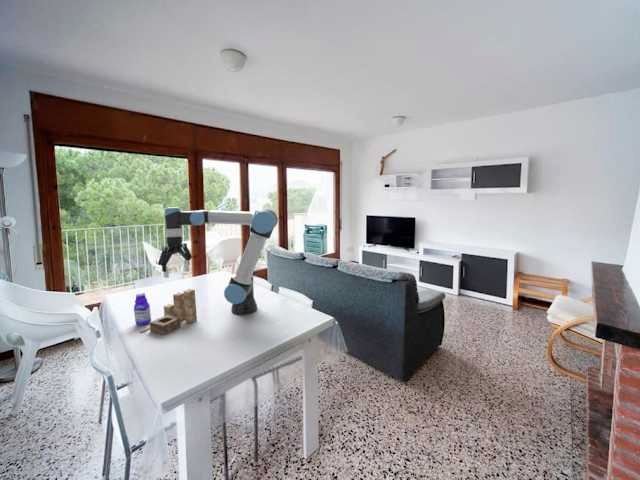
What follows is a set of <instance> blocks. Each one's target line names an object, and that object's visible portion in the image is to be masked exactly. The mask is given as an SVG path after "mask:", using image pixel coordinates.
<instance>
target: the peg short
mask: <svg viewBox="0 0 640 480" xmlns="http://www.w3.org/2000/svg"><path fill="white" fill-rule="evenodd" d="M163 313H164V315H163V316H166V315H169V316H173V317H175V313H174V303H173V304H171V303H168V304H166V305H164V306H163Z"/></svg>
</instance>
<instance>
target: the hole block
mask: <svg viewBox="0 0 640 480" xmlns="http://www.w3.org/2000/svg"><path fill="white" fill-rule="evenodd" d="M149 327H150V332H151V333H153V334H154V333H155V334H158V335H163V336H165V335H168V334H170V333H172V332H174V331H176V330H177V329H179V328H182V321H181V320H180V318H178V317H173V316H169V315H166V316H164V315H163V316H161V317H159V318H157V319H154V320H151V321H150V323H149Z"/></svg>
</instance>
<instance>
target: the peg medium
mask: <svg viewBox="0 0 640 480" xmlns="http://www.w3.org/2000/svg"><path fill="white" fill-rule="evenodd" d="M172 297H173V298H172V299H173V300H172V301H173V305H174V313H175V317H178V318H180V320H181V322H182V321H185V320H186V319H185V305H184V292H179V291H178V292H176V293H173V294H172Z"/></svg>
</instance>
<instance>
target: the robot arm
mask: <svg viewBox="0 0 640 480" xmlns="http://www.w3.org/2000/svg"><path fill="white" fill-rule="evenodd" d="M164 221H165V235H166V238H165V239H166V244H167V246H162V249H161V254H160V256H159V260H158V262H157V265H158V266H161V271H162V272H163V278H167V279H168V278H170V275H169V265H167V264H168V263H169V261H170V260H171V257H172V256H173V255H174V254H180V255H181V257H183V259H184V260H183V267H184V269H183V270H184V272H190V260H191V259H193V256H192V254H191V252H190V250H189V248H188V244H187V243H185V242H183V236H182V235H183V233H182V232H183V230H182V226H201V225H203V224H215V225H216V224H217V225H218V224H220V225H239V226H240V225H244V226H250V228H249V233H250V236H249V238H248V241H247V243H246V246H245V249H244V251H243V254H242V257H241V259H240V262H239V264H238V266H237V270H236V272H235V273H234V274H232V275H231V277H230V280H229V282H228V284H227V286H226V287H225V288H224V291H223V295H224V298H225V300H226V301H227V302H228V303H230V304H232V305H231V313H233V314H235V315H249V314H252V313H254V312H257V310H258V304H257V301H256V299H255V297H254V296H255V295H254V275H253V273H254V272H255V268H256V267H257V264H258V261H259V260H260V256H261V253H262V251H263V249H264V246H265V243H266V241H267V240H269V239H270V238H271V237H272V233H273V230H274V228H276V226H277V225H278V223H279V218H278V214H276V212H275V211H273V210H271V209H260V210H254V211H235V210H234V211H233V210H231V211H230V210H229V211H228V210H209V209H207V210H206V209H199V210H187V211H186V210H184V211H183V210H181V208H180V207H165V208H164Z"/></svg>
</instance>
